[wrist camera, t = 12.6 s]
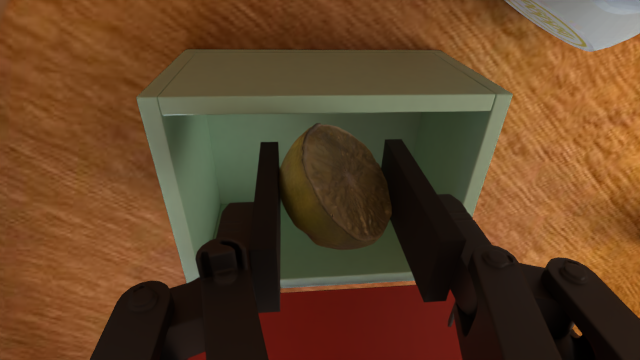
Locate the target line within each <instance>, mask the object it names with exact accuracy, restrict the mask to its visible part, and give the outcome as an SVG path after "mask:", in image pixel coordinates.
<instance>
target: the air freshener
mask: <svg viewBox="0 0 640 360" xmlns="http://www.w3.org/2000/svg"><path fill="white" fill-rule="evenodd" d="M505 1H506V2H507V3H508V4H509V5H510V6H512V7H513V8H514V9H515V10H517V11H518V12H519V13H521V14H522V15H523V16H525V17H526V18H528V19H529V20H530V21H532V22H533V23H535V24H536V25H538V26H539V27H541V28H542V29H544V30H546V31H547V32H549V33H550V34H552V35H554V36H556V37H557V38H559V39H561V40H563V41H565V42H566V43H568V44H570V45H573V46H575V47H577V48H580V49H582V50H585V51H596V50H600V49H604V48H607V47H610V46H613V45H616V44H618V43H620V42H623V41H625V40H627V39H630V38H632V37H634V36H635V35H637V34H639V33H640V0H505Z"/></svg>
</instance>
